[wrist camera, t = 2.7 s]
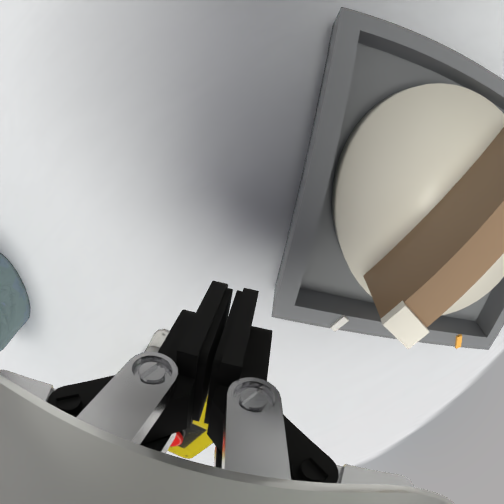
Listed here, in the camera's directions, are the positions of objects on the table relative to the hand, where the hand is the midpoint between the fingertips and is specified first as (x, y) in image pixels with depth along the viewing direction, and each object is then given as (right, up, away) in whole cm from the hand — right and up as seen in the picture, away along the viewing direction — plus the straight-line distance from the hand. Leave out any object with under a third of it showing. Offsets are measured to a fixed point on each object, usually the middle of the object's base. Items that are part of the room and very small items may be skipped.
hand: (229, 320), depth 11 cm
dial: (+11, +5, +3) cm, 13 cm away
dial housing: (+11, +6, +4) cm, 14 cm away
